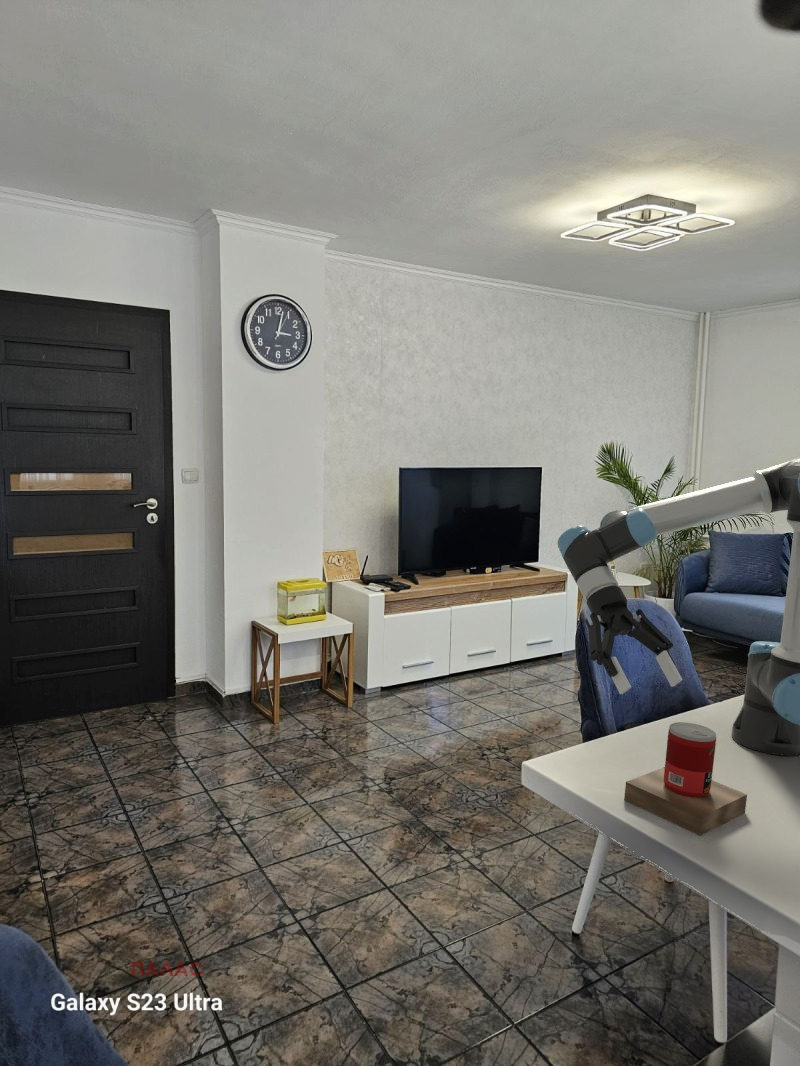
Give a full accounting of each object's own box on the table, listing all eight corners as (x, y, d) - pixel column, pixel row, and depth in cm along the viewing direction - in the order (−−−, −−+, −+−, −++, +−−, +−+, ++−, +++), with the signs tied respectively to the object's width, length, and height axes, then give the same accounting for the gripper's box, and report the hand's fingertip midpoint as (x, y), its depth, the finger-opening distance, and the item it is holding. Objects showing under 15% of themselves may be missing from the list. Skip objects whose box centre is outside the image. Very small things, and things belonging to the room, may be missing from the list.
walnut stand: (670, 781, 147) (671, 764, 146) (745, 812, 135) (747, 794, 135) (624, 800, 137) (625, 781, 137) (700, 836, 126) (702, 816, 125)
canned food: (714, 801, 131) (720, 740, 130) (666, 794, 133) (672, 734, 131) (705, 782, 139) (712, 725, 137) (660, 776, 140) (666, 719, 139)
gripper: (635, 600, 163) (684, 689, 151) (545, 607, 151) (591, 703, 139) (657, 581, 157) (709, 671, 146) (565, 586, 145) (614, 684, 134)
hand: (652, 687), depth 143 cm, fingers open, 13 cm apart
